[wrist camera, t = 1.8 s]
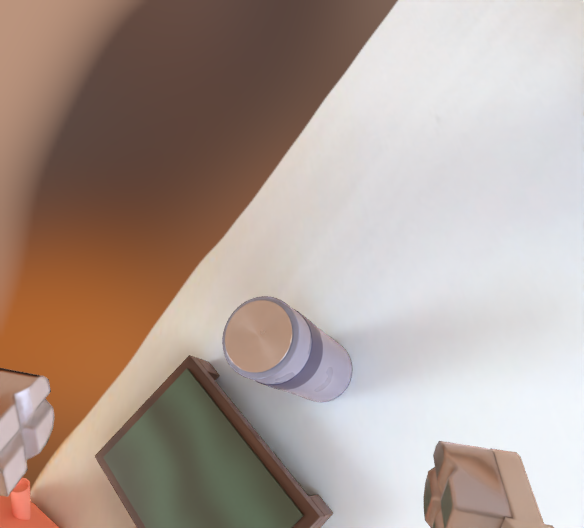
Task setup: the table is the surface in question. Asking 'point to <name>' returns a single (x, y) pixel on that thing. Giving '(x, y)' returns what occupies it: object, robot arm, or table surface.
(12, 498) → the pink cube teapot
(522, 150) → the table surface
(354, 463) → the table surface
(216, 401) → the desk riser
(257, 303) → the slim drink can
